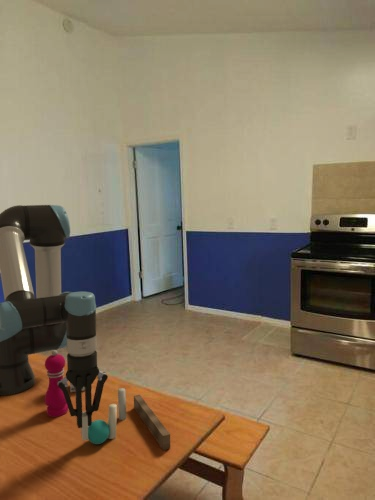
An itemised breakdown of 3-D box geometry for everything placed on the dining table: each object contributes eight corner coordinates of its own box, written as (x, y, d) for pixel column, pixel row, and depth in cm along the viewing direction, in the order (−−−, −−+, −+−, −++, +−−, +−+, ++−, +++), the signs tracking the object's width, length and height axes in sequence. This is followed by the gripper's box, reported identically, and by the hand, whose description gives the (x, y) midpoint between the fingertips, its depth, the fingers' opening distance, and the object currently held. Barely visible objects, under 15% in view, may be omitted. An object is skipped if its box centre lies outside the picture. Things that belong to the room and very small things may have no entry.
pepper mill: (62, 419, 117) (59, 355, 115) (40, 416, 119) (37, 353, 116) (73, 406, 124) (71, 346, 122) (53, 404, 126) (50, 345, 123)
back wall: (134, 407, 123) (133, 396, 123) (140, 406, 124) (139, 394, 123) (163, 450, 102) (163, 436, 101) (170, 448, 103) (170, 434, 102)
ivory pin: (106, 435, 108) (107, 404, 107) (114, 434, 109) (115, 403, 108) (109, 439, 106) (110, 408, 106) (116, 438, 107) (118, 406, 107)
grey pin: (117, 417, 118) (117, 389, 117) (125, 415, 119) (124, 387, 118) (120, 420, 116) (119, 392, 115) (127, 418, 117) (126, 390, 116)
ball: (86, 416, 106) (108, 413, 108) (85, 435, 107) (107, 433, 109) (88, 430, 101) (111, 427, 103) (87, 450, 102) (110, 447, 104)
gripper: (57, 360, 95) (61, 451, 97) (109, 352, 100) (112, 438, 103) (54, 350, 102) (57, 436, 104) (103, 343, 107) (105, 424, 109)
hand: (84, 437), depth 103 cm, fingers closed
